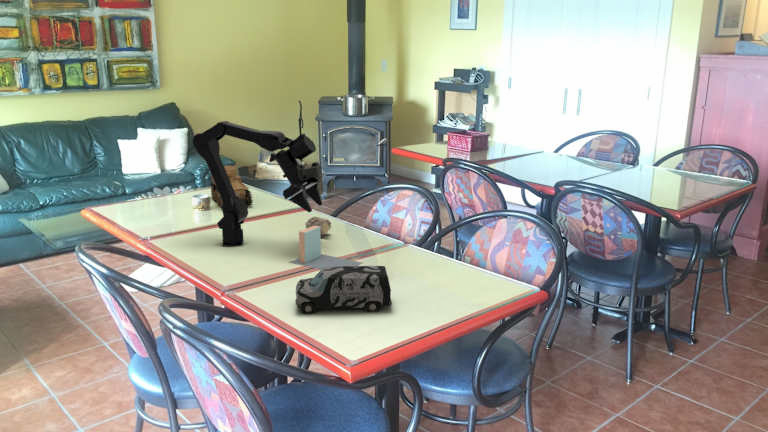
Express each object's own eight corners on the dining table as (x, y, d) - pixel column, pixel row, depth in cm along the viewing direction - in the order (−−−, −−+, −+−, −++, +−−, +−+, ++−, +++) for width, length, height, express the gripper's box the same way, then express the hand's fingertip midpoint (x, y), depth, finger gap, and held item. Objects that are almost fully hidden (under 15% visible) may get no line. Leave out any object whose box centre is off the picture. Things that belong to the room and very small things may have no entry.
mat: (288, 263, 199) (288, 262, 199) (311, 253, 209) (311, 252, 209) (341, 275, 189) (341, 274, 189) (363, 263, 199) (363, 262, 199)
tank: (223, 211, 260) (220, 175, 256) (210, 197, 284) (208, 164, 280) (253, 208, 265) (252, 173, 261) (239, 195, 289) (237, 162, 285)
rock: (328, 224, 221) (336, 213, 230) (297, 222, 223) (305, 211, 232) (329, 242, 223) (337, 230, 232) (298, 240, 226) (307, 228, 235)
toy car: (297, 299, 171) (296, 264, 169) (388, 297, 173) (388, 262, 171) (295, 315, 161) (293, 278, 158) (392, 313, 163) (392, 276, 160)
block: (299, 262, 199) (298, 231, 196) (315, 255, 206) (314, 225, 203) (305, 263, 198) (305, 232, 195) (321, 256, 204) (320, 226, 202)
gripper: (298, 159, 193) (325, 203, 195) (320, 150, 211) (345, 190, 212) (270, 177, 197) (297, 220, 199) (294, 166, 215) (319, 206, 216)
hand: (315, 208), depth 206 cm, fingers open, 9 cm apart
